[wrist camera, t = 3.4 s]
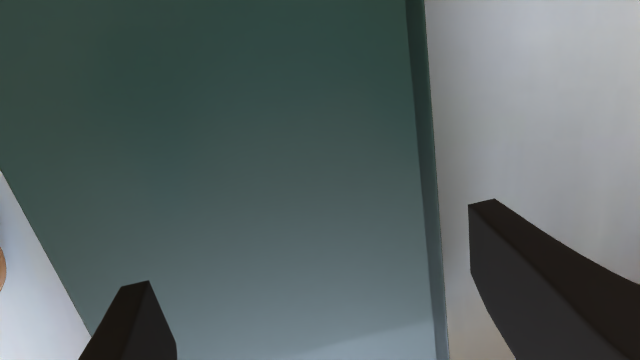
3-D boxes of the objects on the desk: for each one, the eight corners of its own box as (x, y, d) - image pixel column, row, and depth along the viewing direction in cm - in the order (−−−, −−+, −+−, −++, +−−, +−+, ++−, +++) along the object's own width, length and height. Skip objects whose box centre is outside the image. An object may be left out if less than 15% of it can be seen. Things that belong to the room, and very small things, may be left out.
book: (153, 382, 22) (148, 443, 20) (-63, -58, 13) (-109, -31, 11) (428, 316, 22) (450, 368, 20) (383, -150, 14) (414, -140, 12)
